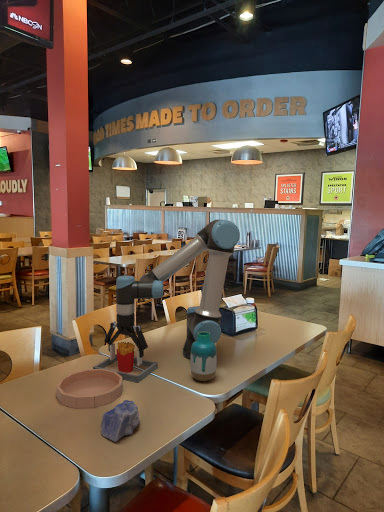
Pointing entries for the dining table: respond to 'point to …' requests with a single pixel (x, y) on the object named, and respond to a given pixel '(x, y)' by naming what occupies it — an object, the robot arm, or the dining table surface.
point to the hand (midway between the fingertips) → (125, 361)
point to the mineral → (120, 420)
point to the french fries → (125, 357)
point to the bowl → (89, 388)
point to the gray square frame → (131, 377)
